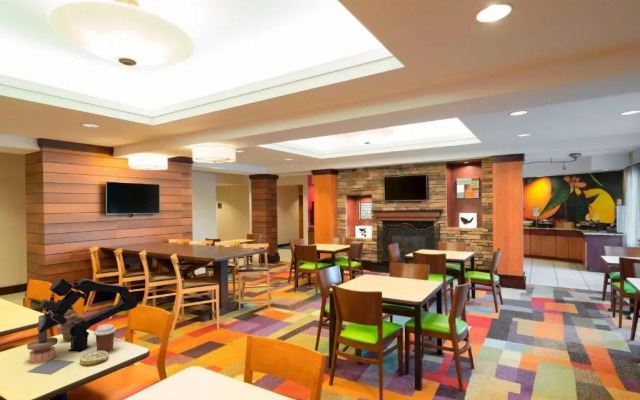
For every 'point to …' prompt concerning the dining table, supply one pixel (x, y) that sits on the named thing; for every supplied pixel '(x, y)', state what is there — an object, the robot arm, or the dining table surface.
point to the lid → (42, 337)
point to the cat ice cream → (69, 316)
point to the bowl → (42, 355)
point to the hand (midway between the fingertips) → (38, 331)
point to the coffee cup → (105, 337)
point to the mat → (50, 366)
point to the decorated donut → (93, 358)
